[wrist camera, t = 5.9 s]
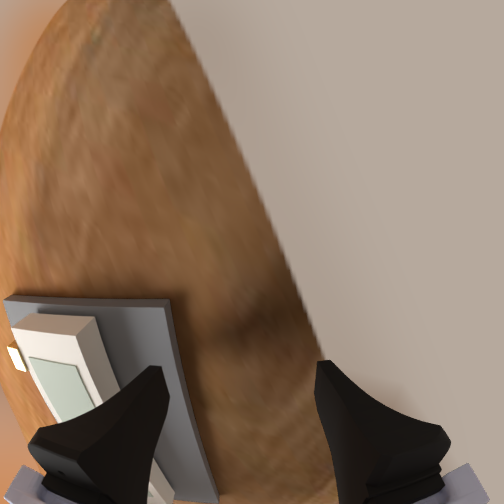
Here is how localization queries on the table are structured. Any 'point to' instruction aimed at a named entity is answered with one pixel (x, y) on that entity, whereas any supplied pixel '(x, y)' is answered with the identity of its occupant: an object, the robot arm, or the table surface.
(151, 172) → the table surface
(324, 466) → the table surface
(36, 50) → the table surface
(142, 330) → the board
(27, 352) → the frame
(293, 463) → the table surface
